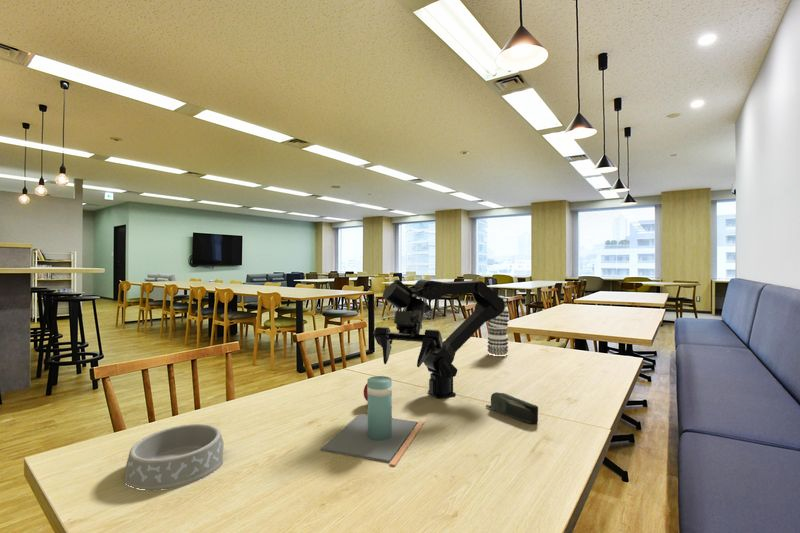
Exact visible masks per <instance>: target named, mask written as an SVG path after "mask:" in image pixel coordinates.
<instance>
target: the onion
mask: <svg viewBox="0 0 800 533" xmlns="http://www.w3.org/2000/svg"><path fill="white" fill-rule="evenodd" d="M363 398H364V399H365V401H366V402H368V394H367V383H366V384H365V386H364V387H363Z"/></svg>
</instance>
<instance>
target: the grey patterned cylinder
mask: <svg viewBox="0 0 800 533" xmlns="http://www.w3.org/2000/svg"><path fill="white" fill-rule="evenodd" d="M498 296H499V297H501V298H502V299H503V300H504V304H505V309H504V311H503V313H501V314H500V315H499V316H497V317H496V318H494V319H491V320H489V321H487V322H488V323H487V327H488V337H487V340H488V341H487V344H488V345H487V353H488V352H489V353H491V354H495V355H505V354H507V353H508V352H509V345H508V344H509V342H508V341H509V338H508V333H507V332H508V330H507V329H509V319H507V318H509V315H508V314H509V311H508V306H507V305H508V299H507V298H506V296H504V295H498Z"/></svg>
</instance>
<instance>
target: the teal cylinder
mask: <svg viewBox="0 0 800 533" xmlns="http://www.w3.org/2000/svg"><path fill="white" fill-rule="evenodd" d="M366 380H367V383H366V384H367V394H368V401H367V415H368V437H369V438H370V439H372V440H377V441H381V440H386V439H389V438H390V437H391V436H392V418H393V417H392V415H393V413H392V412H393V411H392V409H393V408H392V407H393V405H392V402H393V399H392V398H393V397H392V393H393V385H392V383H393V382H392V378H391V377H389V376H384V375H375V376H371V377H368V378H367V379H366Z"/></svg>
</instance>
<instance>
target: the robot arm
mask: <svg viewBox="0 0 800 533" xmlns="http://www.w3.org/2000/svg"><path fill="white" fill-rule="evenodd" d="M467 294H471V295H472V298H473V300H474V301H475V302H476V303H475V305H474V309H473V312H472V313H471V314H470V315H469V316H468V317H467V318H466V319H465V320H464V321H462V323H461V324H459V326H458V327H457V328H456V329H455V330H454V331H453V332H452V333H450V334H449V336H447V338H446V339H445V340H443V338H442V337H443V336H442V334H441V332H440V330H439V329H425V330H424V334H420V333H421V330H422V328H423V325H422V324H423V323H422V322H423V320H424V314H426V313H428V312H430V311H432V307H431V306H430V305H429V304H428V302H425V300H429V301H434V300H438V299H440V298H441V299H442V298H443V297H446V296H449V295H451V296H452V295H454V296H455V295H467ZM499 296H500V295H498V293H496V292H495V291H493V290H492V289H491V288H490V287H488V286H487V284H486V283H485V282H484V281H483V280H470V281H469V280H468V281H451V282H449V281H445V282H443V281H437V280H430V279H419V280H417V281H416V283H415V284H414V285H411V286H409V287H408V286H406V285H405V284H404V283H403V282H402V281H401V280H400V279H394V280H393V282H392V283H390V284H389V285H388V286H387V287H386V288H385V289H384V291H383V293H382V298H383V300H384V301H386V302H388V303H389V304H390V305H392V306H393V307H395V308H396V309H397V310H396V311H395V312H394V320H393V323H394V324H395V325H396V326H395V328H396V330H397V331H398V332H394V331H391V330H390V327H389V326H388V327H387V326H376V327H375V328H374V330H373V332H372V334H373V337H374V339H375V341H376V343H377V345H379V346H380V348H382V360H383V364H384V365H387V363H388V361H389V357H390V354H391V351H392V344H393V341H403V342H404V341H405V342H413V343H414V342H417V343H421V347H420V350H419V351H420V352H419V354H418V358H417V363H416V367H417V368H420V366H421V365H422V364H424V365H425V367H426V368H427V371H428V372H430V378H429V379H428V389H427V392H428V394H430V395H432V396H433V397H434V398H436V399H441V398H449V397H454V396H457V393H456V392H454V377H456V376H457V373H458V369H457V367H455V365H454V364H453V363H454V360H455V358H456V357H455V356H456V353H457V351H458V350H459V349H460V348H461V347H463V345H465V344H466V342H468V340H469V339H470V338H471V337H472V336H473V335H474V334H475V333H477V331H478V330H479V329H480V328H482V326H483V325H484V324H485V323H486V322H488V321H489V320H491V319H494V318H496V317H497V316H499V315H500V314H501V313H503V311H504V309H505V304H504V300H503V299H502V298H501V297H499ZM422 299H424V300H422ZM400 309H404V311H403V310H400Z"/></svg>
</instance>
